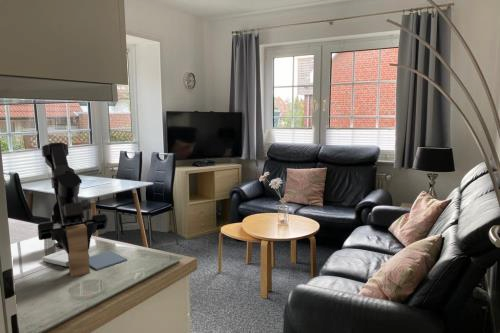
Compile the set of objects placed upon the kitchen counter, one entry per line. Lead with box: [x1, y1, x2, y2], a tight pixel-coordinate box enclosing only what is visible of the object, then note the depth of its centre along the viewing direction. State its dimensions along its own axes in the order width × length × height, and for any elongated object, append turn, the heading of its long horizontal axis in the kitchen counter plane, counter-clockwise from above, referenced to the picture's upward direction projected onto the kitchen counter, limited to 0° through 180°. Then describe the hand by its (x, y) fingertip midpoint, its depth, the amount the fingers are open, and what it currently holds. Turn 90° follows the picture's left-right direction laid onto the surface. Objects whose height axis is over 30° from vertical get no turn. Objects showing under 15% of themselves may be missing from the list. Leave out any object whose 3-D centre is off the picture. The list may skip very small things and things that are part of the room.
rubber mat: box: [89, 250, 128, 271], centre depth 117 cm, size 11×10×1 cm
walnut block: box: [66, 224, 91, 278], centre depth 107 cm, size 4×5×14 cm
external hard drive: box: [41, 249, 69, 268], centre depth 117 cm, size 2×8×12 cm
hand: (78, 250), depth 106 cm, fingers closed on walnut block, 5 cm apart
